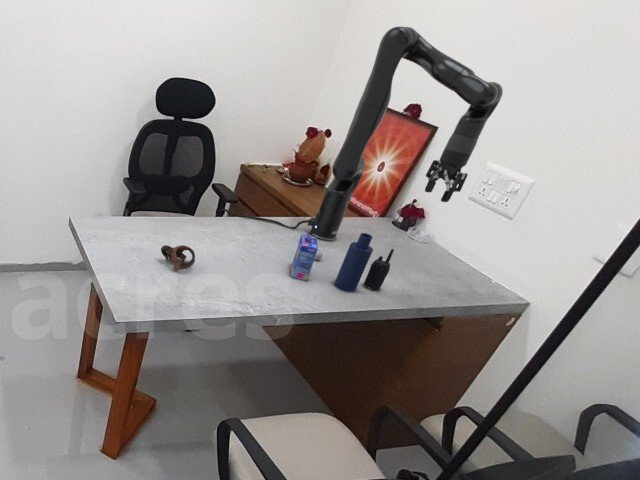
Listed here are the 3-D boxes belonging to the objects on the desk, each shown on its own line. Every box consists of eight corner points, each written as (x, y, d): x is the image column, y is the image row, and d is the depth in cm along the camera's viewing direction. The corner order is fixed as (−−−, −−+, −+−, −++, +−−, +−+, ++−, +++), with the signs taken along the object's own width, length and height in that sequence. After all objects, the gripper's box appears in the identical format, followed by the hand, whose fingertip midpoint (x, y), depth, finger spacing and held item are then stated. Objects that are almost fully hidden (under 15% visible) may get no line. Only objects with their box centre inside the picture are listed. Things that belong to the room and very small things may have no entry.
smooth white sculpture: (321, 264, 188) (312, 261, 186) (308, 253, 195) (299, 250, 193) (328, 254, 186) (319, 250, 184) (315, 243, 193) (305, 240, 191)
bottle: (332, 286, 172) (353, 235, 162) (336, 279, 177) (357, 229, 167) (352, 294, 169) (375, 242, 159) (357, 286, 174) (379, 235, 164)
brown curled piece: (192, 261, 179) (201, 249, 171) (183, 282, 174) (192, 270, 167) (161, 246, 179) (168, 233, 172) (151, 267, 175) (158, 254, 168)
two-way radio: (381, 289, 174) (399, 249, 166) (377, 293, 171) (395, 253, 163) (364, 282, 177) (381, 243, 169) (360, 286, 174) (377, 247, 166)
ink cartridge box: (290, 264, 183) (303, 227, 175) (306, 268, 182) (320, 230, 174) (290, 277, 175) (304, 238, 167) (307, 281, 174) (321, 242, 166)
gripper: (434, 141, 170) (412, 188, 179) (463, 154, 158) (439, 204, 167) (454, 143, 171) (432, 189, 180) (485, 156, 159) (460, 205, 168)
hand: (435, 196), depth 173 cm, fingers open, 8 cm apart
